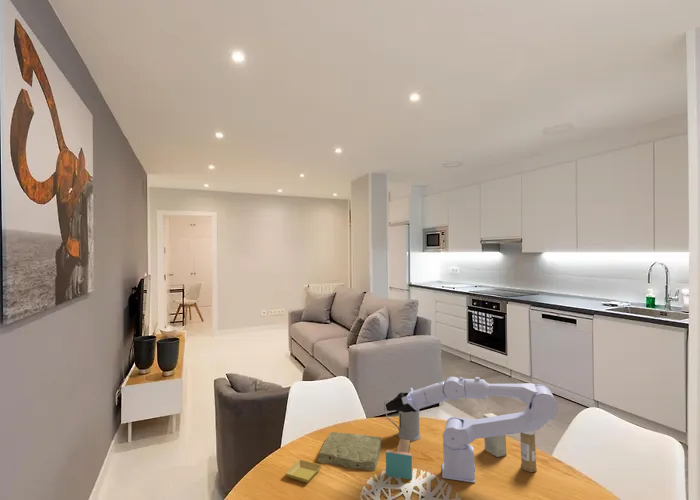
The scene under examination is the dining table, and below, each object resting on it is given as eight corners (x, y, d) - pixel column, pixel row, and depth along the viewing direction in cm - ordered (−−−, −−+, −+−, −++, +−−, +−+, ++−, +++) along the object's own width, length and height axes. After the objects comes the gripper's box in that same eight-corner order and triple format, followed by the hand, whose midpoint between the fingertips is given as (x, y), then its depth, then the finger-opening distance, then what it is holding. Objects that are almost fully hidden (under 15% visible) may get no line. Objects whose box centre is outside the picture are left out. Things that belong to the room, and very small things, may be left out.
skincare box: (507, 455, 118) (506, 419, 119) (497, 458, 117) (496, 421, 117) (492, 446, 124) (492, 412, 125) (483, 448, 123) (482, 413, 123)
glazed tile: (412, 476, 106) (412, 453, 106) (411, 479, 104) (411, 455, 105) (386, 472, 108) (386, 449, 109) (385, 475, 107) (385, 452, 107)
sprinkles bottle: (539, 472, 108) (538, 428, 109) (525, 472, 108) (524, 428, 109) (531, 464, 113) (530, 422, 114) (518, 464, 113) (516, 422, 114)
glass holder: (422, 441, 128) (422, 400, 129) (384, 440, 129) (384, 399, 130) (418, 430, 137) (418, 392, 138) (383, 429, 137) (383, 391, 138)
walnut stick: (409, 450, 122) (409, 440, 122) (406, 468, 111) (406, 457, 111) (400, 449, 123) (400, 438, 123) (395, 467, 112) (395, 456, 112)
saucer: (284, 479, 105) (284, 472, 105) (299, 465, 113) (299, 458, 113) (308, 487, 101) (308, 479, 101) (322, 471, 109) (322, 465, 109)
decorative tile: (329, 439, 131) (329, 429, 131) (382, 444, 127) (382, 434, 127) (315, 466, 112) (315, 454, 113) (375, 473, 108) (375, 461, 109)
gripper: (430, 385, 120) (395, 396, 124) (416, 382, 109) (379, 394, 113) (437, 406, 116) (401, 417, 121) (423, 405, 105) (384, 417, 109)
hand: (391, 407), depth 117 cm, fingers open, 7 cm apart
